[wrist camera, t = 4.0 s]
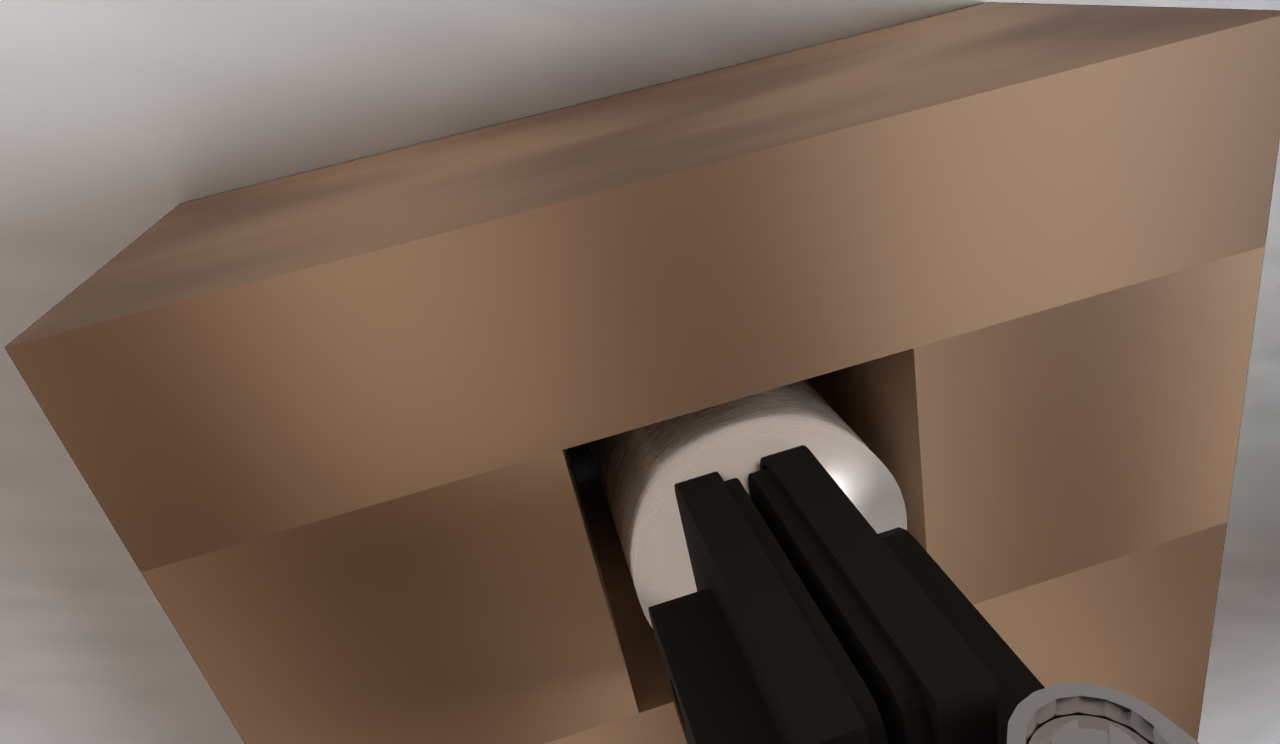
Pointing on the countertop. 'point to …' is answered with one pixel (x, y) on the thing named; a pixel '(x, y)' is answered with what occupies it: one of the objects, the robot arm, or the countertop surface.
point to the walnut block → (694, 365)
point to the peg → (726, 474)
